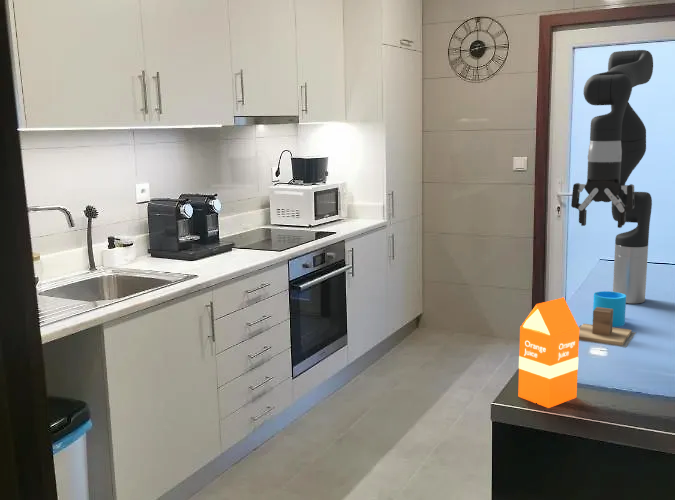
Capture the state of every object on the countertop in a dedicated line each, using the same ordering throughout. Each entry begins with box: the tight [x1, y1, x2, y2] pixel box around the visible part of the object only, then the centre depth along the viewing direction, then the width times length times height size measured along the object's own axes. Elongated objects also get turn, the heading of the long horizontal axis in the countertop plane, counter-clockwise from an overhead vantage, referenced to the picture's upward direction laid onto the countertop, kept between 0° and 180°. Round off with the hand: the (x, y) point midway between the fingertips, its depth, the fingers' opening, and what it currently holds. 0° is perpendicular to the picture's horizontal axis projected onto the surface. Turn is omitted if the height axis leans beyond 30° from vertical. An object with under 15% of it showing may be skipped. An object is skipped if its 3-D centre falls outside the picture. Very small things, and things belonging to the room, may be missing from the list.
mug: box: [592, 290, 627, 328], centre depth 191 cm, size 12×8×8 cm
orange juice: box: [517, 296, 580, 409], centre depth 139 cm, size 8×9×20 cm
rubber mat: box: [578, 324, 637, 348], centre depth 179 cm, size 14×14×1 cm
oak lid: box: [579, 307, 633, 346], centre depth 178 cm, size 12×12×7 cm
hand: (601, 226), depth 172 cm, fingers open, 8 cm apart
